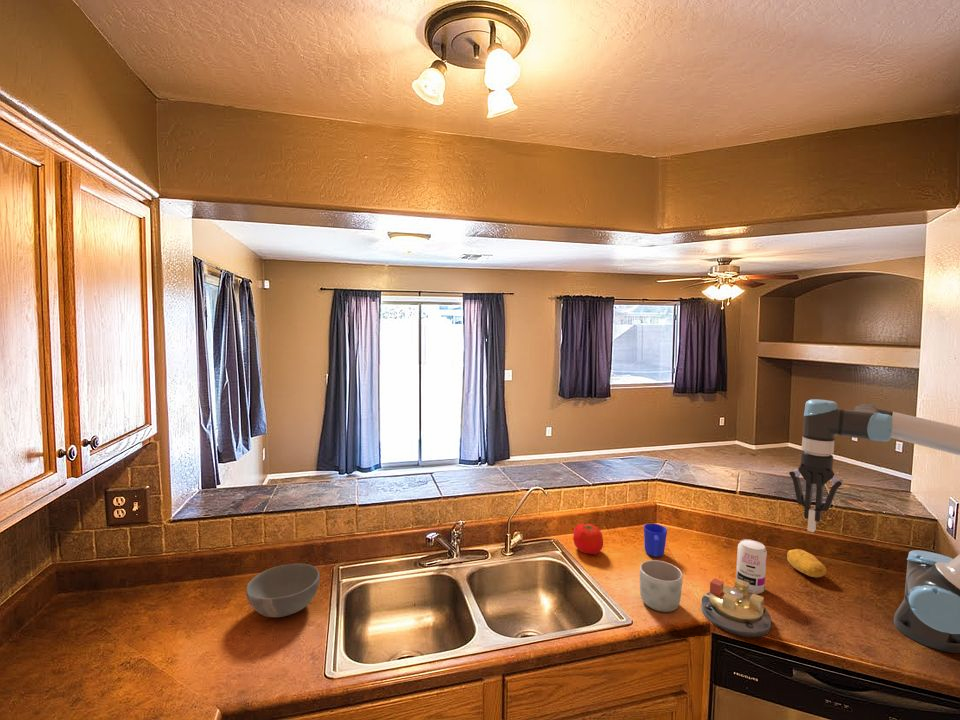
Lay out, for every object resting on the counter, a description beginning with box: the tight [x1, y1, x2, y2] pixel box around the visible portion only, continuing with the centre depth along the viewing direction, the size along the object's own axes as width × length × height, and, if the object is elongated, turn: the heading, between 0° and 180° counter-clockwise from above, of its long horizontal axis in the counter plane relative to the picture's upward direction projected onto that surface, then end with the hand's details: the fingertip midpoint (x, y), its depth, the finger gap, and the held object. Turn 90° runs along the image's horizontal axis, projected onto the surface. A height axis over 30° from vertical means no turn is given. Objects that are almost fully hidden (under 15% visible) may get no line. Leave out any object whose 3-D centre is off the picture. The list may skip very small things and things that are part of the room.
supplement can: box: [735, 538, 768, 595], centre depth 150 cm, size 8×8×15 cm
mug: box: [643, 523, 668, 558], centre depth 171 cm, size 8×12×10 cm
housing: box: [700, 589, 772, 638], centre depth 136 cm, size 18×18×8 cm
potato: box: [786, 548, 827, 578], centre depth 160 cm, size 8×14×7 cm, turn 1°
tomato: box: [572, 522, 604, 555], centre depth 174 cm, size 11×13×10 cm
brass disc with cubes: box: [709, 577, 765, 623], centre depth 136 cm, size 14×14×6 cm
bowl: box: [245, 562, 320, 618], centre depth 136 cm, size 20×20×10 cm
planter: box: [639, 559, 684, 613], centre depth 141 cm, size 12×12×11 cm
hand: (811, 530), depth 135 cm, fingers closed
